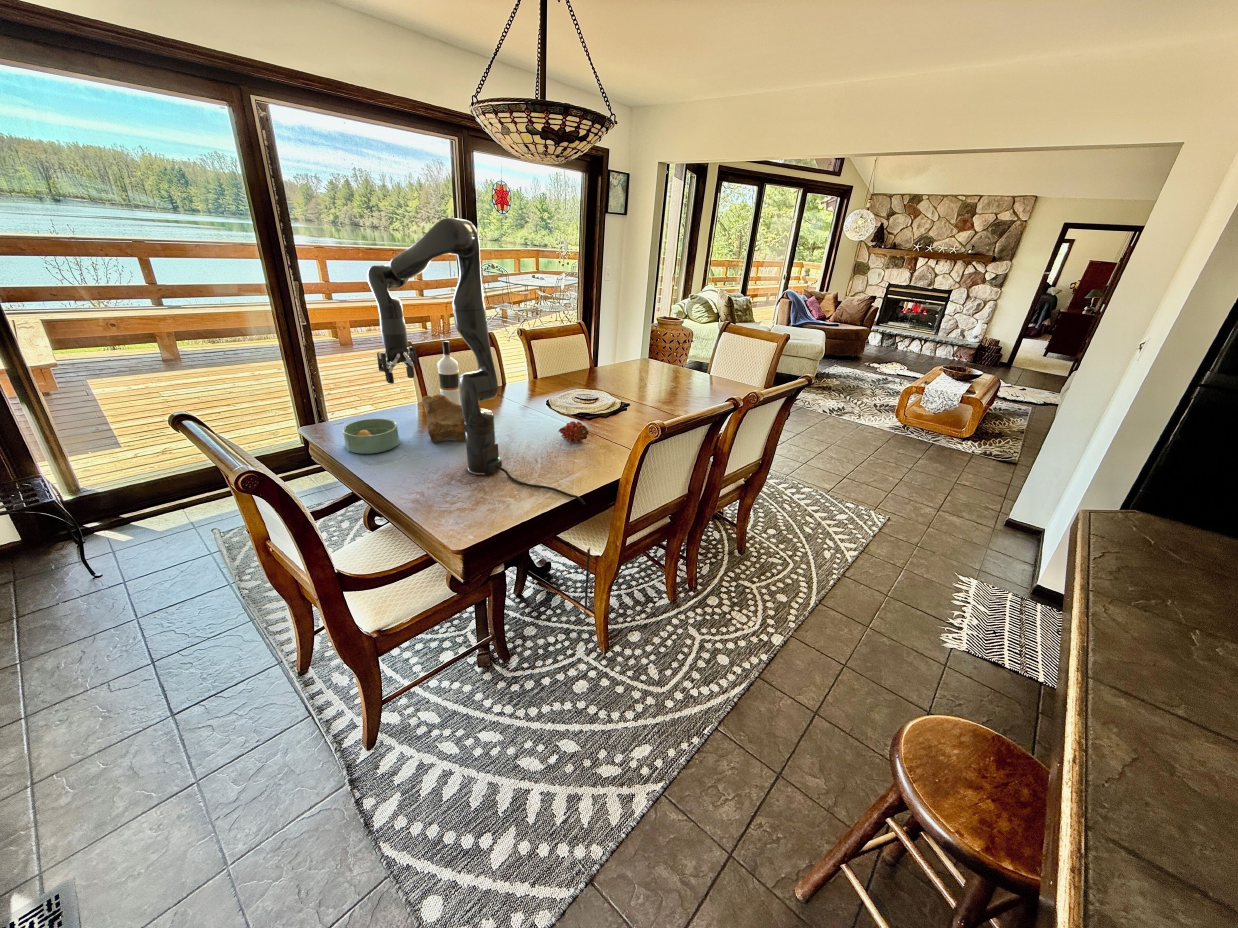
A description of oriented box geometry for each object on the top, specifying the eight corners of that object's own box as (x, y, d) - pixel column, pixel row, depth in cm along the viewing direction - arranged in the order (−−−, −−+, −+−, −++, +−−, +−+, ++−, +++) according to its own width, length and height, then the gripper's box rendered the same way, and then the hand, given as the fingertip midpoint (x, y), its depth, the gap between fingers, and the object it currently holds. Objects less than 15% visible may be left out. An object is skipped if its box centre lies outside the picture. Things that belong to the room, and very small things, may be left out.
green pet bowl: (410, 442, 177) (407, 424, 174) (370, 459, 162) (366, 440, 159) (376, 432, 183) (373, 415, 180) (335, 447, 169) (331, 429, 165)
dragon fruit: (589, 447, 186) (560, 447, 189) (592, 429, 190) (563, 429, 193) (584, 435, 179) (554, 436, 182) (587, 416, 183) (557, 417, 186)
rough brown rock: (407, 443, 178) (401, 406, 170) (432, 424, 192) (428, 389, 184) (464, 454, 174) (460, 417, 166) (486, 434, 188) (483, 399, 180)
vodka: (446, 415, 203) (439, 344, 190) (437, 409, 209) (429, 340, 196) (466, 411, 209) (461, 342, 196) (457, 405, 215) (451, 338, 202)
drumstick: (390, 442, 171) (387, 429, 169) (380, 446, 167) (376, 433, 165) (367, 439, 176) (363, 427, 174) (356, 443, 172) (352, 431, 170)
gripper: (384, 336, 148) (392, 387, 155) (419, 330, 160) (425, 377, 167) (366, 333, 151) (375, 383, 158) (402, 327, 163) (409, 374, 170)
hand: (401, 380), depth 162 cm, fingers open, 8 cm apart
